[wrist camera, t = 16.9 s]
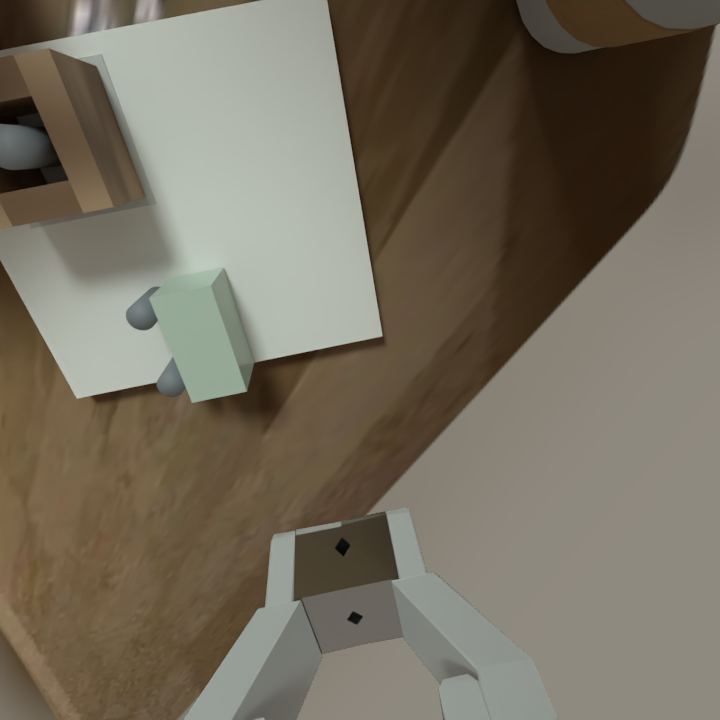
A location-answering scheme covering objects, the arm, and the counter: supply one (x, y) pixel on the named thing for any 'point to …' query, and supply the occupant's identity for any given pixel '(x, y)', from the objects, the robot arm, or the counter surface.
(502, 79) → the counter surface
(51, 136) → the wooden square block
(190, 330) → the block
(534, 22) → the coffee cup
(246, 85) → the base plate
